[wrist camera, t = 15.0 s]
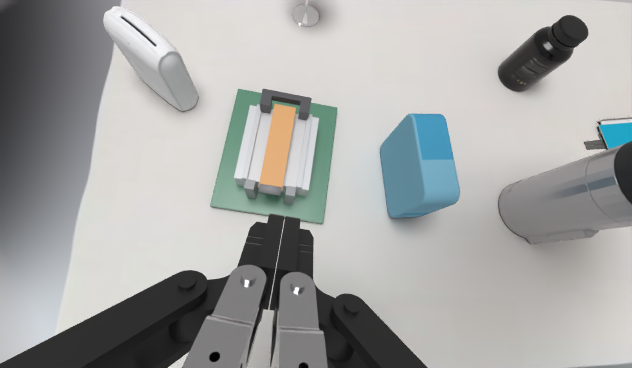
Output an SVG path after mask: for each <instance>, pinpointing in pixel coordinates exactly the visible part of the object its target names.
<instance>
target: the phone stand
mask: <svg viewBox="0 0 632 368" xmlns="http://www.w3.org/2000/svg"><path fill="white" fill-rule="evenodd" d="M599 120H600V119H599ZM598 122H601V124H602V125H599V128H598V129H599V132H600V134H598V136H599V138H600V140H595V141H588V142H584V143H585V145H591V146H586V148H587V150H589V149H604V148H608V149H611V148H614V147H617V146H620V145H622V144H625V143H628V142H631V141H632V118H619V119H611V118H610V119H606V120H601V121H598Z"/></svg>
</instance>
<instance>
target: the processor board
mask: <svg viewBox="0 0 632 368" xmlns="http://www.w3.org/2000/svg"><path fill="white" fill-rule="evenodd" d="M274 104H279V105H284V106H290V107H295V108H296V112H295V117H294V123H293V129H292V135H291V141H290V147H289V153H288V159H287V164H286V170H285V176H284V182H283V188H282V192H281V195H280V196H279V195H273V194H267V193H261V192H259V182H260V177H261V172H262V166H263V161H264V156H265V151H266V146H267V141H268V135H269V130H270V125H271V120H272V115H273V109H274ZM336 115H337V108H336V107H331V106H326V105H320V104H315V103H311V98H309V97H303V96H298V95H293V94H288V93H283V92H278V91H272V90H267V89H263V90H262V93H258V92H253V91H247V90H242V89H238V92H237V96H236V100H235V104H234V109H233V113H232V117H231V121H230V125H229V129H228V133H227V138H226V142H225V146H224V150H223V154H222V158H221V162H220V167H219V171H218V175H217V179H216V183H215V187H214V191H213V196H212V200H211V204H210V206H211V207H214V208H221V209H227V210H234V211H240V212H247V213H253V214H260V215H266V216H269V214H270V213H271V214H277V215H283V216H284V218H285V217H286V216H289V217H295V218H300V221H306V222H312V223H319V224H323V220H324V212H325V204H326V196H327V188H328V180H329V172H330V163H331V155H332V147H333V139H334V131H335V123H336Z"/></svg>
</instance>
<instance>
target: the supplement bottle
mask: <svg viewBox="0 0 632 368" xmlns="http://www.w3.org/2000/svg"><path fill="white" fill-rule="evenodd" d="M587 36H588V28H587V26H586V25H585V23H584V22H583V21H582V20H581V19H579V18H577V17H575V16H571V15H567V16H564V17H562V18H561V19H560V20H559V21H557V22H556V23H554V24H553V25H552V26H551V27H545V28H542V29H540V30H538V31H537V32H536V33H534V34H533V35H532V36H531V37H530V38H529V39H528V40H527V41H525V42H524V43H523V44H522V45H521V46H520V47H519V48H518V49H517V50H516V51H514V52H513V53H512V54H511V55H510V56H509V57H508V58H507V59H506V60H505V61H504V62H503V63H502V64H501V65H500V67H499V77H500V79H501V81H502V82H503V83H504V84H505V85H506V86H507V87H508V88H510V89H512V90H516V91H522V90H526V89H528V88H529V87H531V86H532V85H534V84H535V83H536V82H538V81H539V80H541V79H542V78H543V77H545V76H546V75H548V74H549V73H551V72H552V71H553V70H555V69H556V68H558V67H559V66H560V65H562V64H563V63H565V62H566V61H567V60H568V59H569V58H570V57H571V55H572V53H573V50H574V48H575V47H576V46H578V45H579V44H580V43H581V42H583V41H584V40H585V39H586V38H587Z"/></svg>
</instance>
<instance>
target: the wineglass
mask: <svg viewBox="0 0 632 368" xmlns="http://www.w3.org/2000/svg"><path fill="white" fill-rule="evenodd" d="M308 4H309V0H306V5H305V4H304V5H299V6H296V7H295V8H294V9H293V11H292V17H293V19H294V21H295V22H296V23H297V24H299V25H301V26H305V27H309V26H313V25H315V24H316V23H317V22H318V20H319V14H318V12H317V10H316V9H315V8H313V7H312V6H309V5H308Z"/></svg>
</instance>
